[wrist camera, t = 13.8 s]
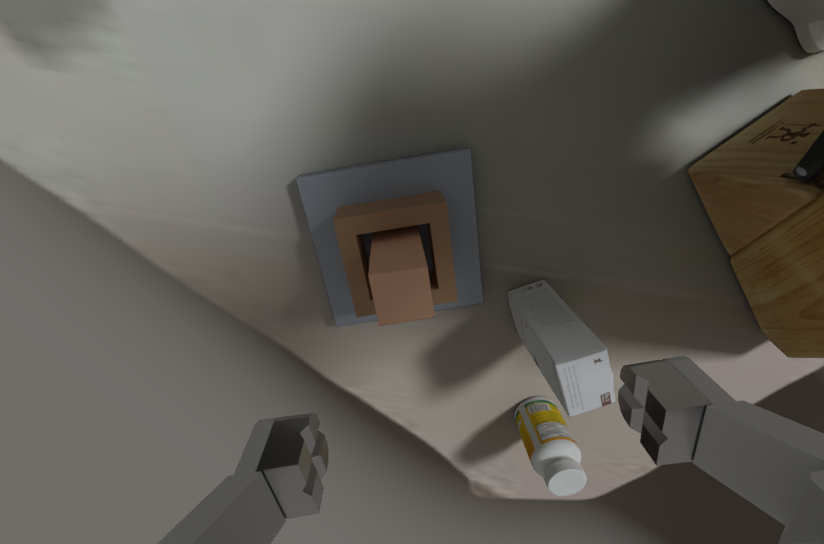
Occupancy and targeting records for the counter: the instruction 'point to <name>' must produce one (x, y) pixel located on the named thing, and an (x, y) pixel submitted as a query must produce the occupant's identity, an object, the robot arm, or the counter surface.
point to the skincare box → (562, 348)
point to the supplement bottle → (550, 446)
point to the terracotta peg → (399, 276)
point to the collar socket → (395, 226)
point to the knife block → (774, 218)
